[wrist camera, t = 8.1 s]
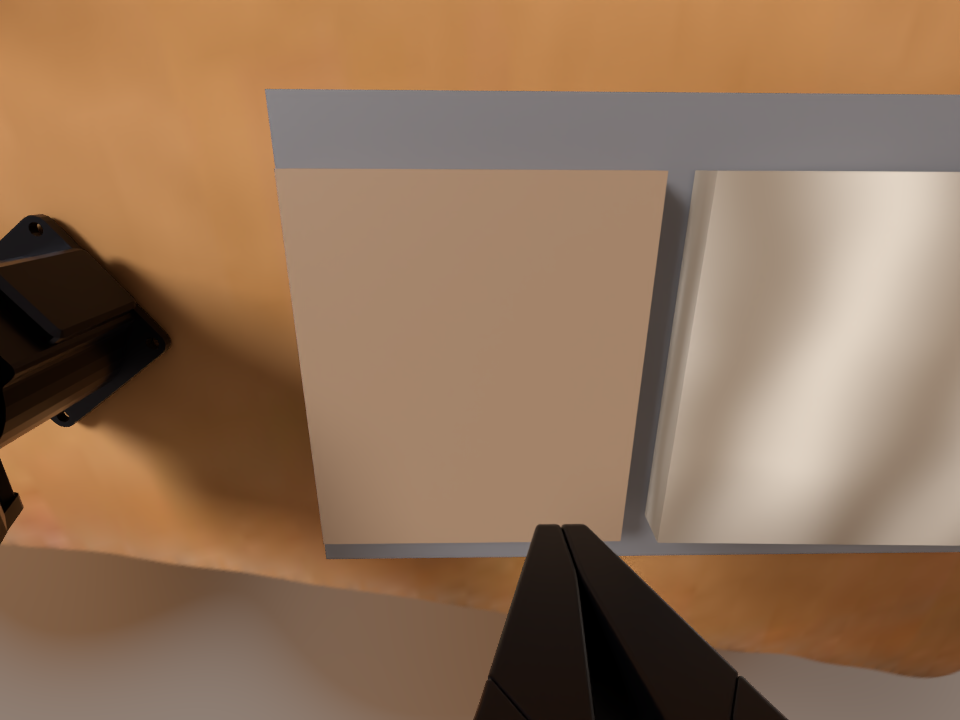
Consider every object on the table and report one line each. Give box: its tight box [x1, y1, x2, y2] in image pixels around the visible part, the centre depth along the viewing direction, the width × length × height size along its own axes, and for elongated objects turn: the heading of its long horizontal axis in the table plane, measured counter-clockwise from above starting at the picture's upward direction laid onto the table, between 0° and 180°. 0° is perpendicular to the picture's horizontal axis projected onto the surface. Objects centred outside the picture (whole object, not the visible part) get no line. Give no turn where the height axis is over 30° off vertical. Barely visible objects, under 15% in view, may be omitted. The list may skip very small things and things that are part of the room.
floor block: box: [265, 89, 960, 559], centre depth 18 cm, size 27×16×6 cm, turn 90°
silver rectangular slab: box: [645, 170, 960, 546], centre depth 16 cm, size 14×12×2 cm
